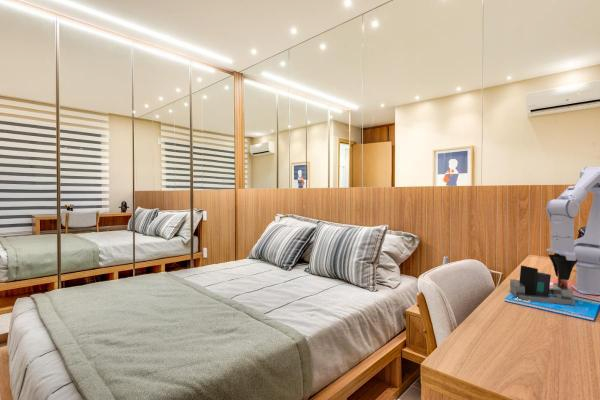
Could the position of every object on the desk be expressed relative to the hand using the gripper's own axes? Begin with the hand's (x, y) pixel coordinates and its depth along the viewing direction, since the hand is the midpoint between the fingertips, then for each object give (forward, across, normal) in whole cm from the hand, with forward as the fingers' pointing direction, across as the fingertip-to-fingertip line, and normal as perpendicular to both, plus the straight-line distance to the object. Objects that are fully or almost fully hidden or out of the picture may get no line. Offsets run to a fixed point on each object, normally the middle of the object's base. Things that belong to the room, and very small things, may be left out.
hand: (562, 278), depth 98 cm
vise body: (+7, 0, -6) cm, 9 cm away
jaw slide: (+7, 0, 0) cm, 7 cm away
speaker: (+7, 0, -7) cm, 10 cm away
